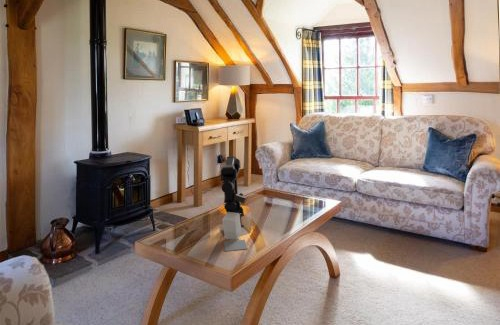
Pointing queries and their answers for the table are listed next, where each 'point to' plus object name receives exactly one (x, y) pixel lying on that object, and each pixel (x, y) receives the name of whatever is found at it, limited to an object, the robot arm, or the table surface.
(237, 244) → the mat
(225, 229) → the supplement box
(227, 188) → the robot arm
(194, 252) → the table surface
